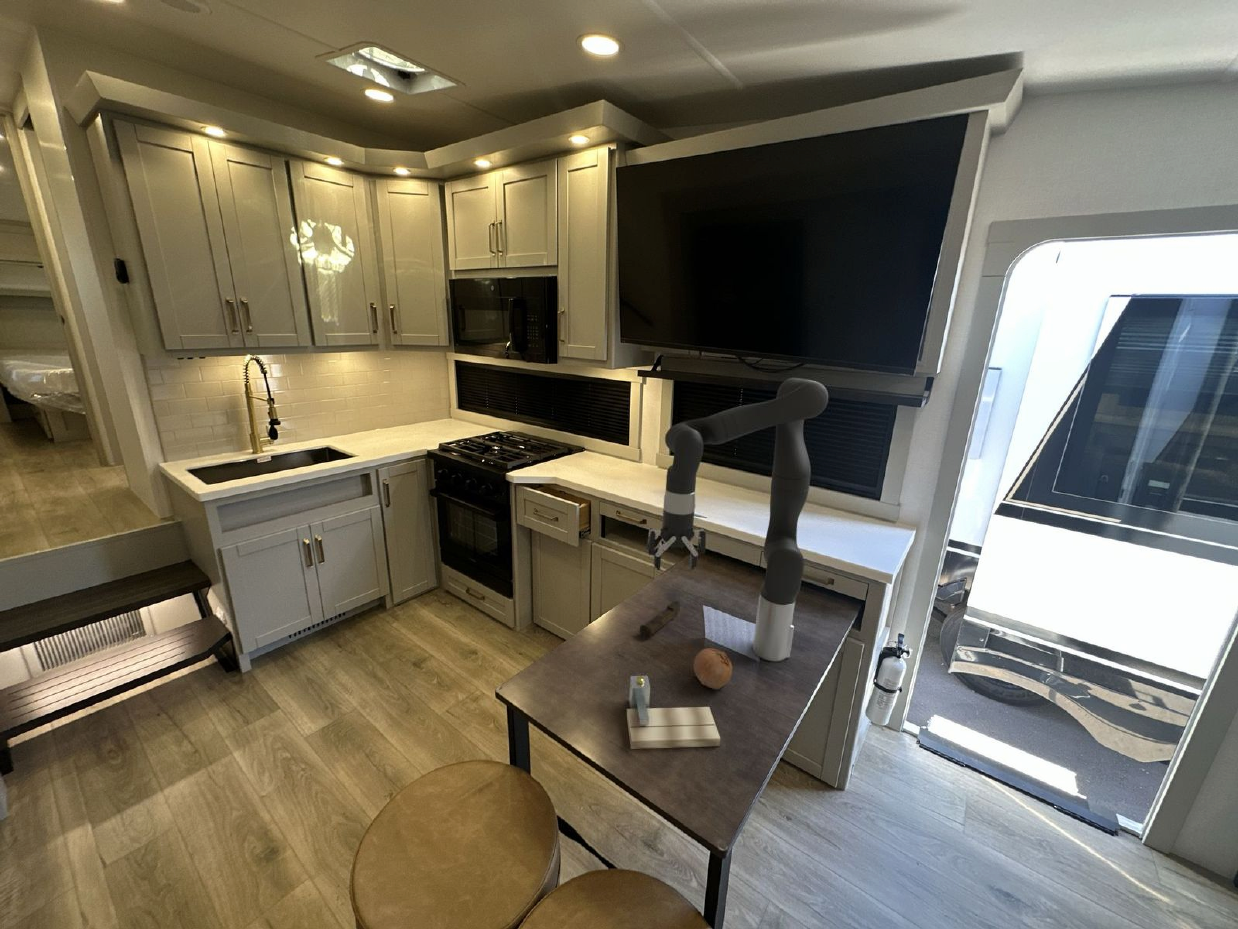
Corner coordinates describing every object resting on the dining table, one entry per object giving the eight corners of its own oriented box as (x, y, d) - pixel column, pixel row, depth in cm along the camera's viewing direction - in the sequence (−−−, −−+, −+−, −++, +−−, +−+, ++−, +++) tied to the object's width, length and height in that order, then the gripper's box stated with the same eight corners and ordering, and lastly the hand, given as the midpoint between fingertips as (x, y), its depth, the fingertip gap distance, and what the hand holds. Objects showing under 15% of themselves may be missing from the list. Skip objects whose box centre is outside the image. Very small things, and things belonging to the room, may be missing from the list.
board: (708, 714, 113) (709, 706, 113) (719, 746, 104) (720, 738, 104) (626, 716, 111) (627, 708, 111) (631, 749, 103) (631, 741, 102)
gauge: (645, 700, 116) (647, 672, 114) (652, 734, 107) (654, 704, 105) (629, 701, 116) (630, 673, 114) (634, 735, 106) (636, 705, 104)
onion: (724, 692, 125) (746, 664, 122) (706, 702, 117) (729, 672, 115) (698, 662, 130) (719, 635, 127) (679, 670, 123) (701, 641, 120)
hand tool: (649, 641, 139) (650, 627, 138) (638, 635, 142) (639, 621, 140) (686, 615, 153) (688, 602, 152) (676, 610, 155) (677, 597, 154)
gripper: (703, 502, 123) (698, 561, 127) (647, 502, 121) (644, 562, 125) (712, 513, 115) (706, 575, 120) (652, 513, 114) (648, 576, 118)
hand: (674, 568), depth 123 cm, fingers open, 8 cm apart
